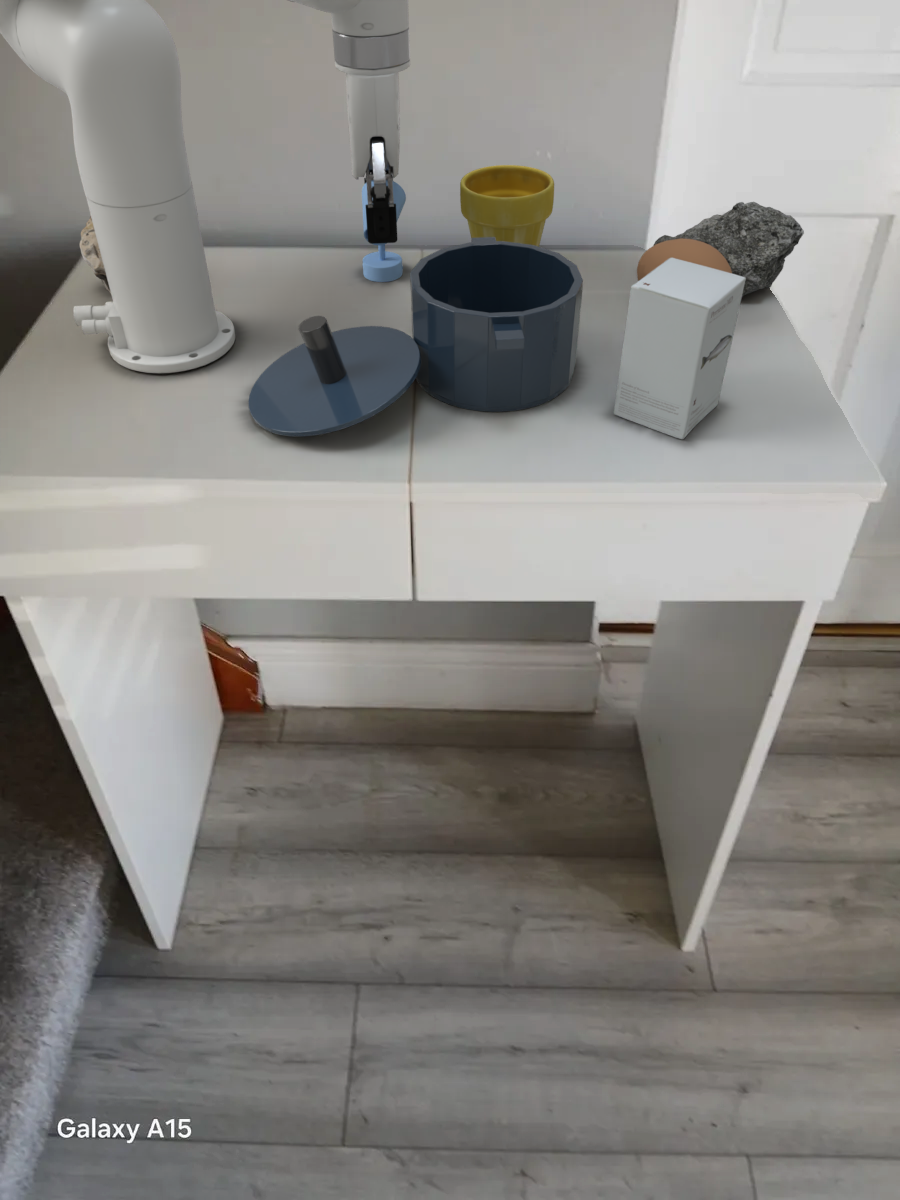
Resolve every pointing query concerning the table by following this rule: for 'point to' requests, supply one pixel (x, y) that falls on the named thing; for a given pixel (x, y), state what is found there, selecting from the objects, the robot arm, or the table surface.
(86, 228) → the rock
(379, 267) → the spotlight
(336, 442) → the table surface
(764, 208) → the rock
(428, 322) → the pot
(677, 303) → the white packaging box
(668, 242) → the egg
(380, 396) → the pot lid
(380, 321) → the table surface
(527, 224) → the flower pot
